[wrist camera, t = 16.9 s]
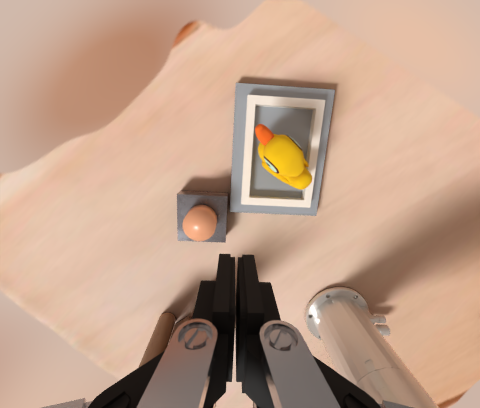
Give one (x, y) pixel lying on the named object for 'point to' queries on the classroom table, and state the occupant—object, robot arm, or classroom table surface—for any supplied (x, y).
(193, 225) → the button
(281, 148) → the duckling
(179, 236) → the button base
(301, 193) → the tray
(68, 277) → the classroom table surface
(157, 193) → the classroom table surface
